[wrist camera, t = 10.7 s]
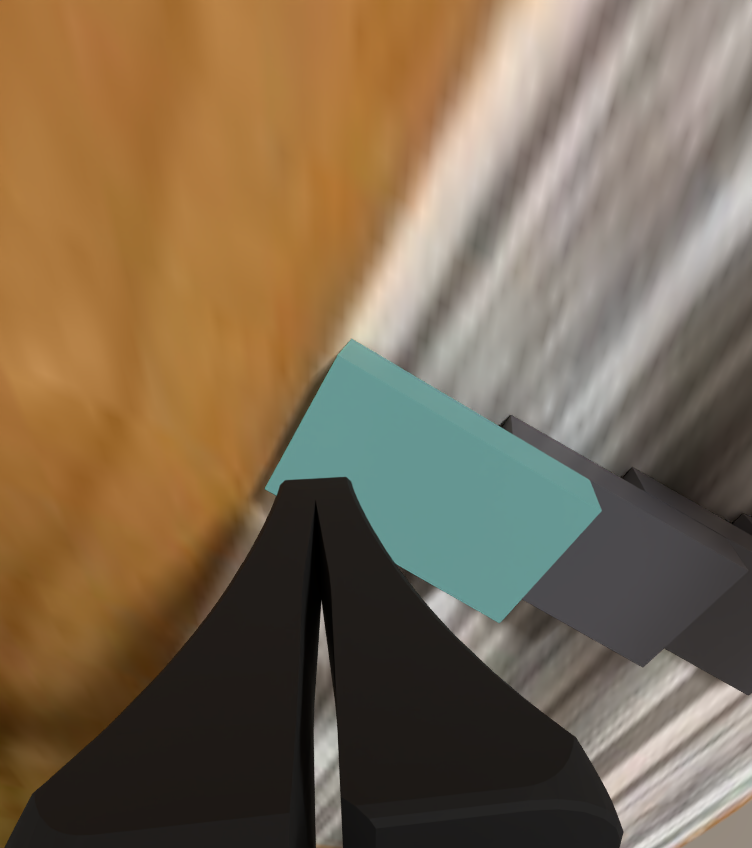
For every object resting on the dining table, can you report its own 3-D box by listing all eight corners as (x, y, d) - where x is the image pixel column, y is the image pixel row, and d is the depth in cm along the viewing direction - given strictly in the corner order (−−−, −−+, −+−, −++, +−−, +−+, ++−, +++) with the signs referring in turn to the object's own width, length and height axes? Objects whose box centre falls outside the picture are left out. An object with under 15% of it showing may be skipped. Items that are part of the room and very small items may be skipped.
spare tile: (351, 338, 15) (589, 479, 15) (283, 462, 17) (497, 585, 17) (337, 354, 13) (601, 510, 14) (264, 488, 15) (499, 623, 16)
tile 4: (510, 414, 17) (726, 538, 17) (436, 520, 18) (630, 630, 19) (512, 435, 15) (748, 570, 15) (431, 548, 17) (642, 667, 17)
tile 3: (632, 467, 18) (825, 578, 18) (552, 559, 20) (729, 659, 20) (645, 491, 17) (855, 611, 17) (557, 588, 18) (748, 695, 19)
